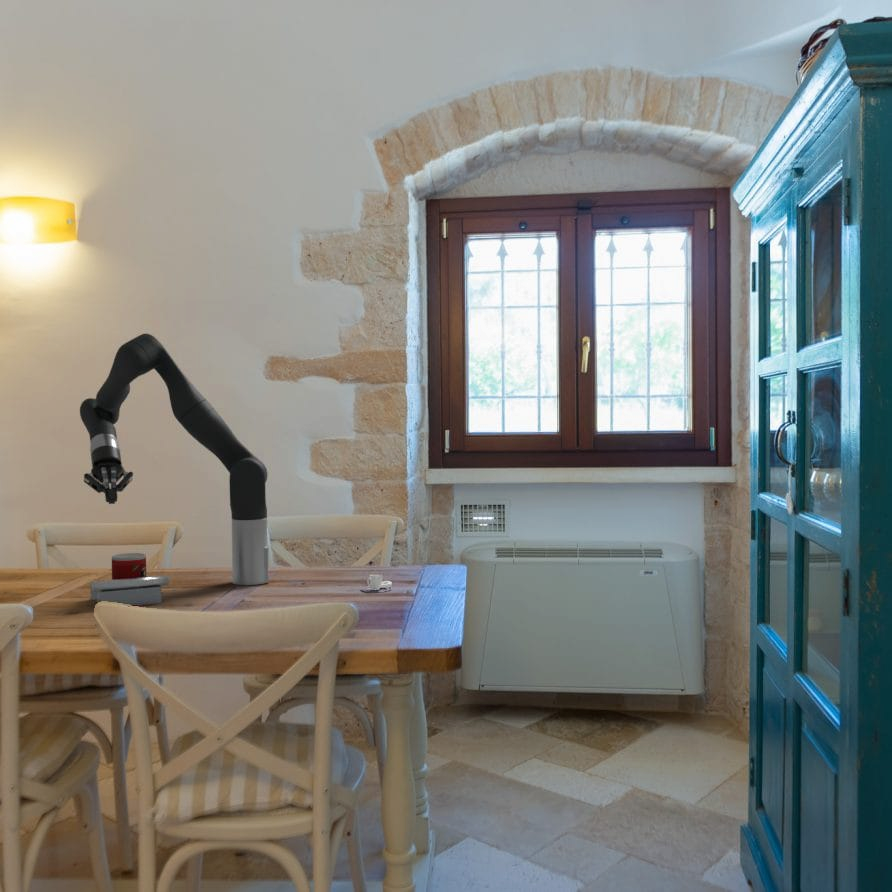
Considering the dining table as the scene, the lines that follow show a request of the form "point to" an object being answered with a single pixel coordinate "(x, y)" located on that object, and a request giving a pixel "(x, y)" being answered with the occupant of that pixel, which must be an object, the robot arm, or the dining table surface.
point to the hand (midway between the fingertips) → (111, 501)
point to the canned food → (128, 566)
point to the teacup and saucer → (378, 582)
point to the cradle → (129, 590)
